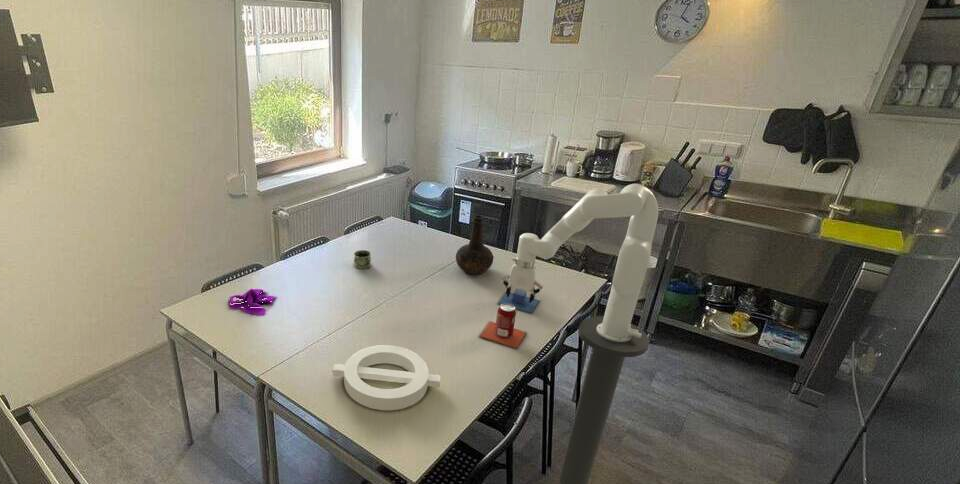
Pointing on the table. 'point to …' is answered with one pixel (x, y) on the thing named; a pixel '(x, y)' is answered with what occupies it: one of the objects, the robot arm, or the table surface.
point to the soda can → (505, 320)
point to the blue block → (519, 297)
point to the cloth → (252, 301)
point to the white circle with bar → (386, 377)
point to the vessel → (362, 258)
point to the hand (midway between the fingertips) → (519, 298)
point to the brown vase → (475, 251)
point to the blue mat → (525, 307)
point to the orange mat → (509, 341)
